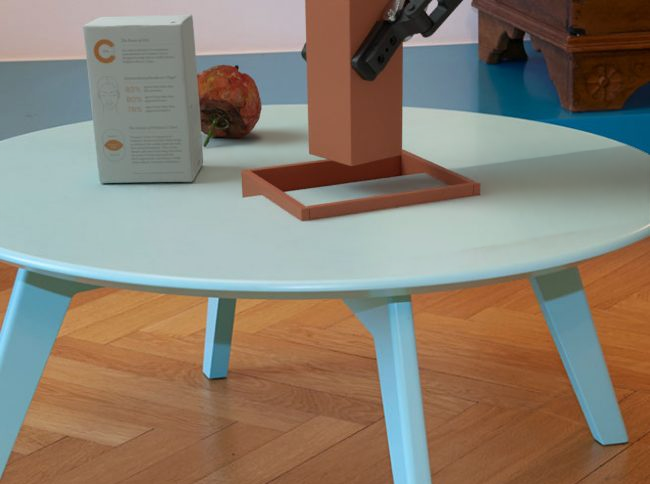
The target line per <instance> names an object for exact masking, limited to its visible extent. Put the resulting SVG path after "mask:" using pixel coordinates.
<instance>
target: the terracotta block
mask: <svg viewBox="0 0 650 484" xmlns="http://www.w3.org/2000/svg"><path fill="white" fill-rule="evenodd" d="M388 2H389V0H304V5H305V6H304V10H305V11H304V12H305V15H304V16H305V43H306V56H307V62H306V91H307V93H306V94H307V95H306V96H307V131H308V135H307V136H308V154H309V155H310V156H311V155H312V156H315V157H318V158H322V159H324V160H325V159H328V160H332V161H335V162H339V163H342V164H346V165H349V166H354V165H359V164H363V163H368V162H372V161H376V160H381V159H385V158H390V157H394V156H398V155H402V150H403V98H404V97H403V96H404V95H403V86H404V85H403V83H404V82H403V80H404V78H403V76H404V75H403V74H404V42H401V44H400V45H399V47H398V48H397V50H396V51H395V53H394V54H393V56H392V57H391V59H390V61H389V62H388V64H387V65H386V67H385V68H384V70H382V71H381V72H380V73H379V74H378V76H377V77H376V79H375V80H374V81H366V80H363V79H362V78H361V77H360V76H359V75H358V74H357V72H356V71H355V70H354V69H353V68H352V66H351V59H352V58H353V56H354V55H355V53H356V52H357V50H358V49H359V47H360V46H361V44H362V43H363V41H364V40H365V38H366V37H367V35H368V34H369V32H370V31H371V29H372V28H373V26H374V25H375V23H376V22H377V21H381V22H384V20H383V18H382V14H383V11H384V8H385V6H386V5H387V3H388ZM402 9H403V7H402Z"/></svg>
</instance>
